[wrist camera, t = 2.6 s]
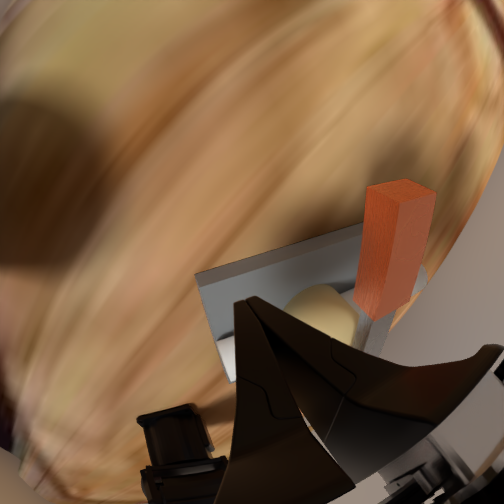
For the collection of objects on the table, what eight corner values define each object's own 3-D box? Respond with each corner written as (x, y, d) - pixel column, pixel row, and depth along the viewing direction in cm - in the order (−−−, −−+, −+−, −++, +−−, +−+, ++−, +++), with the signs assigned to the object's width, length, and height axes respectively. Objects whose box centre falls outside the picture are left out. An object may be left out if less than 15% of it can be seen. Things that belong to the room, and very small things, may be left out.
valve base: (224, 371, 25) (253, 437, 19) (194, 274, 18) (229, 361, 12) (385, 301, 30) (427, 340, 24) (405, 208, 23) (466, 245, 17)
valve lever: (362, 364, 18) (375, 381, 17) (333, 380, 18) (346, 398, 16) (406, 178, 11) (436, 192, 9) (366, 186, 10) (399, 203, 9)
